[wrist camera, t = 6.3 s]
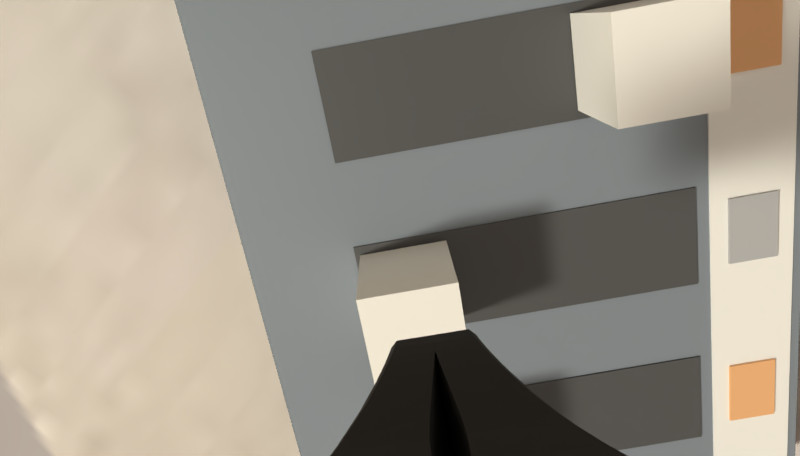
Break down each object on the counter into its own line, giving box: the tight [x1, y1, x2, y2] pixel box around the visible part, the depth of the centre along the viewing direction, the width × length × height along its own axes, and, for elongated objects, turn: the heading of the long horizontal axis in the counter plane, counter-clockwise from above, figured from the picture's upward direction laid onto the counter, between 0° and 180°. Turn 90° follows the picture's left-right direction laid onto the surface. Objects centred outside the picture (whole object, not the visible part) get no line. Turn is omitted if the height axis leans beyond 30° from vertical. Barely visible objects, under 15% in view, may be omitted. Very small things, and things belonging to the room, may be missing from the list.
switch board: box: [175, 0, 800, 456], centre depth 19 cm, size 19×16×2 cm
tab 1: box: [356, 240, 466, 384], centre depth 17 cm, size 2×2×3 cm
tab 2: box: [570, 0, 731, 129], centre depth 15 cm, size 2×2×3 cm
